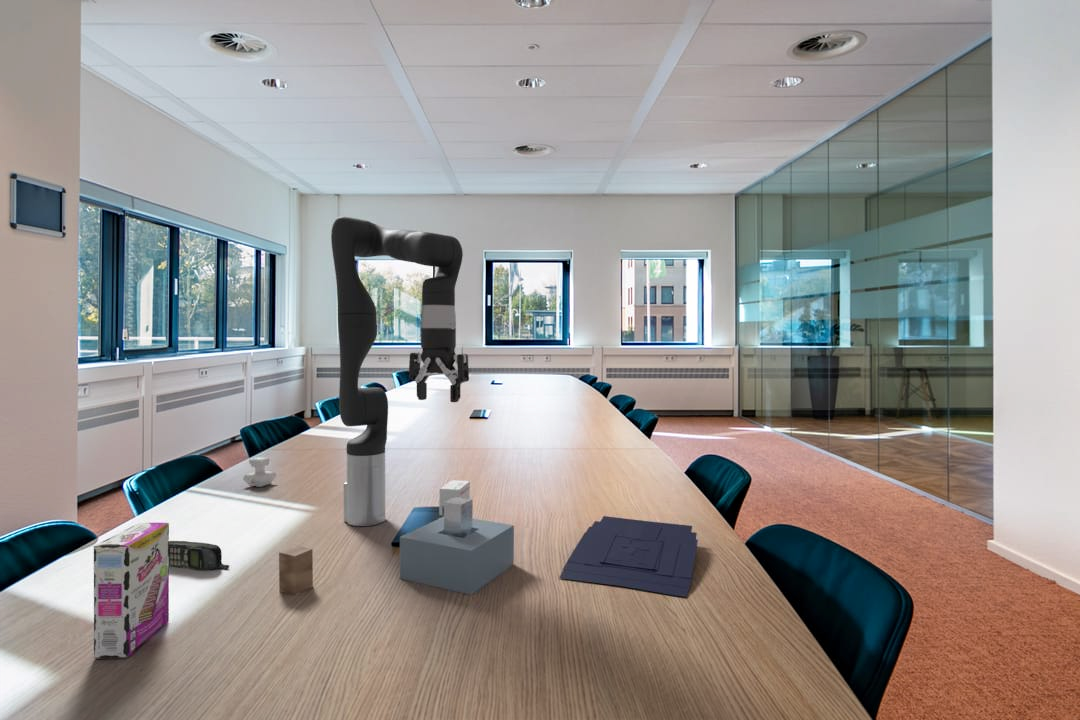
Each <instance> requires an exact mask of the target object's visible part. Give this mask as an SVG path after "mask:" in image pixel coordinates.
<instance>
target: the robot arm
mask: <svg viewBox="0 0 1080 720" xmlns="http://www.w3.org/2000/svg"><path fill="white" fill-rule="evenodd" d="M330 233H331V235H330V240H331V249H332V250H331V251H332V258H333V266H334V271H335V279H336V280H335V283H336V295H337V297H336V299H337V326H338V327H337V328H338V329H337V331H338V344H339V345H338V346H339V363H340V364H339V365H340V366H339V370H340V371H339V388H338V389H339V390H338V391H339V393H338V394H339V396H338V397H339V398H338V407H339V408H338V409H339V410H338V411H339V416H340V420H341V421H342V424H343V425H344V426H346V427H360V426H366V427H365V429H364V431H362V433H360V434H359V435H357V436H355V437H354V438H351V439H349V440H348V441H347V443H346V482H344V483H343V522H346V523H347V524H348V525H350V526H354V527H368V526H375V525H379V524H381V523H383V522H385V521H386V443H387V439H388V419H389V416H388V415H389V401H388V396H387V393H386V391H385V390H384V389H383V388H382V387H373V386H372V387H359V378H360V371H361V369H362V368H361V367H362V365H363V362H364V361H365V359H366V357H367V355H368V354H369V352H370V350H371V349H372V347H373V345H374V343H375V341H376V340H377V336H378V318H377V308H376V305H375V303H374V301H373V299H372V297H371V295H370V293H369V292H368V290H367V288H366V286H365V285H364V284H363V282H362V280H361V278H360V277H359V276H360V275H359V273H358V269H357V265H356V257H358V258H371V257H381V256H386V257H390V258H391V259H394V260H398V261H402V262H403V261H404V262H407V263H415V264H418V265H421V266H427V267H435V268H438V269H437V273H436V275H435V277H429V278H426V279H424V280H423V281H422V285H421V291H422V292H421V305H422V306H421V314H420V347H421V348H422V351H421V353H420V352H410V354H409V363H408V364H409V365H408V379H409V380H410V381H411V380H412V381H414V382H415V383H416V398H417V399H418V400H419V401H425V400H427V397H428V395H427V391H428V390H427V389H428V388H427V387H428V386H427V385H428V383H427V382H426V381H427V380H428V379H429V378H430V376H431V375H432V374H435V373H436V374H443V375H444V376H445V377H446V378H447V379H448V380H449V382H450V383H451V385H450V387H449V388H450V389H449V390H450V391H449V393H450V397H449V398H450V402H451V403H458V402H459V400H460V399H461V385H462V384H463V383H467V382H469V380H470V374H469V373H470V371H469V355H468V354H467V353H459V354H456V352H455V351H456V346H457V316H456V305H455V304H456V301H455V300H456V285H457V281H458V278H459V273H460V269H461V266H462V263H463V256H464V255H463V253H464V252H463V248H462V244H461V243H460V241H459V240H458V238H456V237H454V236H451V235H446V234H439V233H435V232H430V231H429V232H428V231H417V230H410V229H409V230H408V229H398V228H397V229H392V230H391V229H388V228H385V227H383V226H380V225H378V224H376V223H374V222H371V221H369V220H365V219H360V218H355V217H350V216H339V217H337V218H336V219H335V220H334V222H333V223H332V227H331V232H330ZM421 362H422V363H423V364H422V366H421ZM455 363H456V365H457V368H456V366H455V365H454V364H455Z"/></svg>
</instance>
